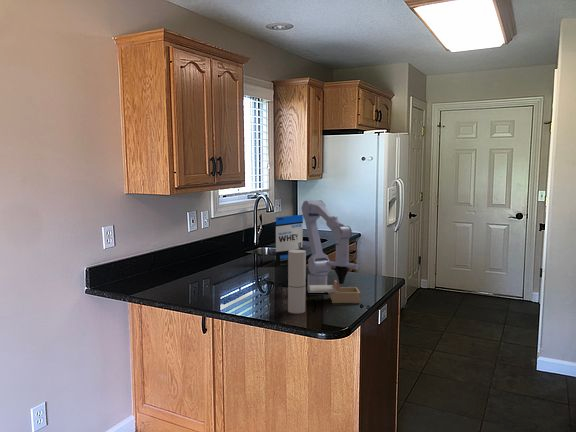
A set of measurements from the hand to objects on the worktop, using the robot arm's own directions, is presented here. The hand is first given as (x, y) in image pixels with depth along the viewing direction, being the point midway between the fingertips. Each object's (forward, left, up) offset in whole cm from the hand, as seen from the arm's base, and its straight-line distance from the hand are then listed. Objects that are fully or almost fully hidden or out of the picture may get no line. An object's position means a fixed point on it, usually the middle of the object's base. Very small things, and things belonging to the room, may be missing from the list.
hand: (341, 283), depth 213 cm
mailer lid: (-8, 0, -3) cm, 8 cm away
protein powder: (-21, +82, -8) cm, 86 cm away
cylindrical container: (-20, -15, -8) cm, 27 cm away
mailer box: (+2, 0, -8) cm, 8 cm away
